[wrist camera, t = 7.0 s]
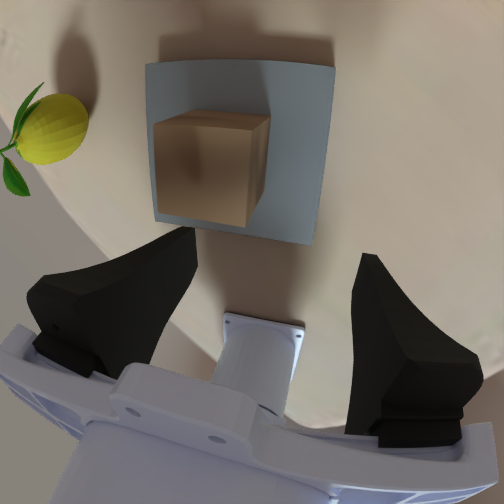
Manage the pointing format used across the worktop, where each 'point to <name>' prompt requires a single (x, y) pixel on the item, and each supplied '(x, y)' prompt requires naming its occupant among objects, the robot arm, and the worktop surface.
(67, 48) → the worktop surface
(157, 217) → the slate tile
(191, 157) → the walnut block
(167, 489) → the robot arm
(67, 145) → the lemon
